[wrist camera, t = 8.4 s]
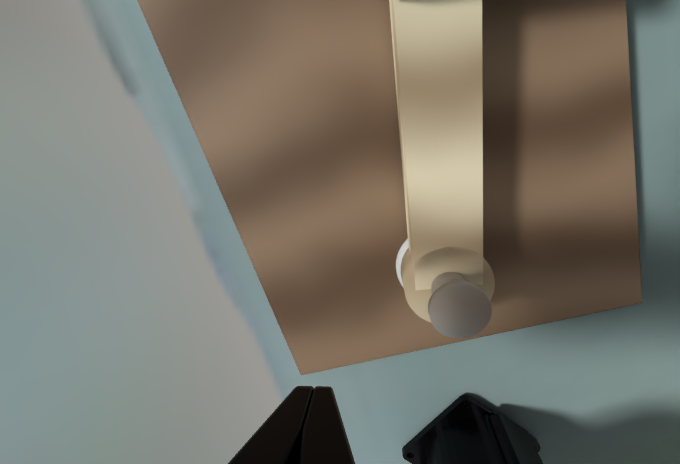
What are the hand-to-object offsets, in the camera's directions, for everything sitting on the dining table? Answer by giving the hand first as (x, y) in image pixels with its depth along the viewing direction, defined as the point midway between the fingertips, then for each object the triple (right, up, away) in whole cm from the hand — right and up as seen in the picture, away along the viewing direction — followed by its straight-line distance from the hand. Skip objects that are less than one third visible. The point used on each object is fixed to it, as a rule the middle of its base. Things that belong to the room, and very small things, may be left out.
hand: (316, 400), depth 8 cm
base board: (+4, +8, +9) cm, 13 cm away
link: (+5, +9, +7) cm, 13 cm away
